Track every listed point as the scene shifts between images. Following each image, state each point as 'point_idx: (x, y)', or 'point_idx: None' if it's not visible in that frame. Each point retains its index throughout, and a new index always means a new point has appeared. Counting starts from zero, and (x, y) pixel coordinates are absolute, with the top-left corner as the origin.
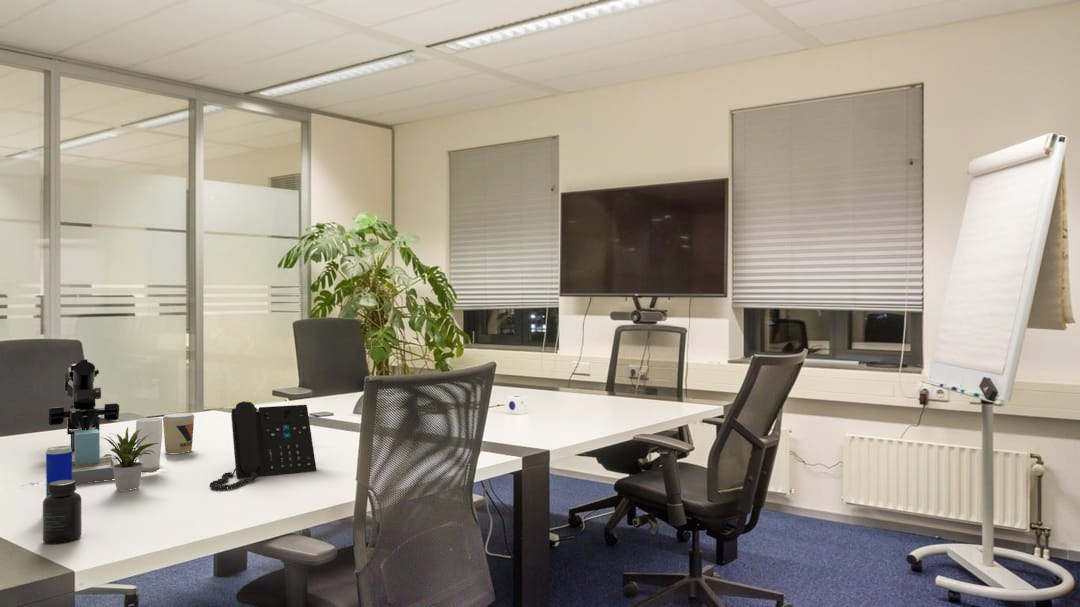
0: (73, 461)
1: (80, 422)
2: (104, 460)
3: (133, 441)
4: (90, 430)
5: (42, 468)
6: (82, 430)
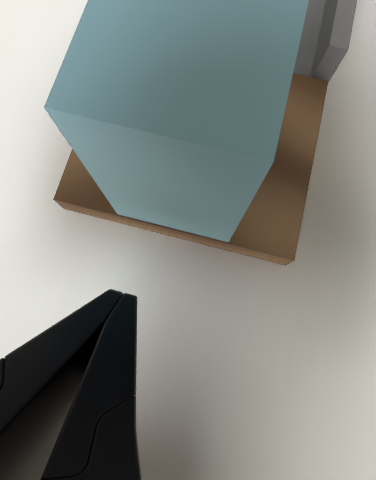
0: (235, 239)
1: (111, 442)
2: None
3: None
4: (133, 81)
5: (361, 321)
6: (193, 143)
